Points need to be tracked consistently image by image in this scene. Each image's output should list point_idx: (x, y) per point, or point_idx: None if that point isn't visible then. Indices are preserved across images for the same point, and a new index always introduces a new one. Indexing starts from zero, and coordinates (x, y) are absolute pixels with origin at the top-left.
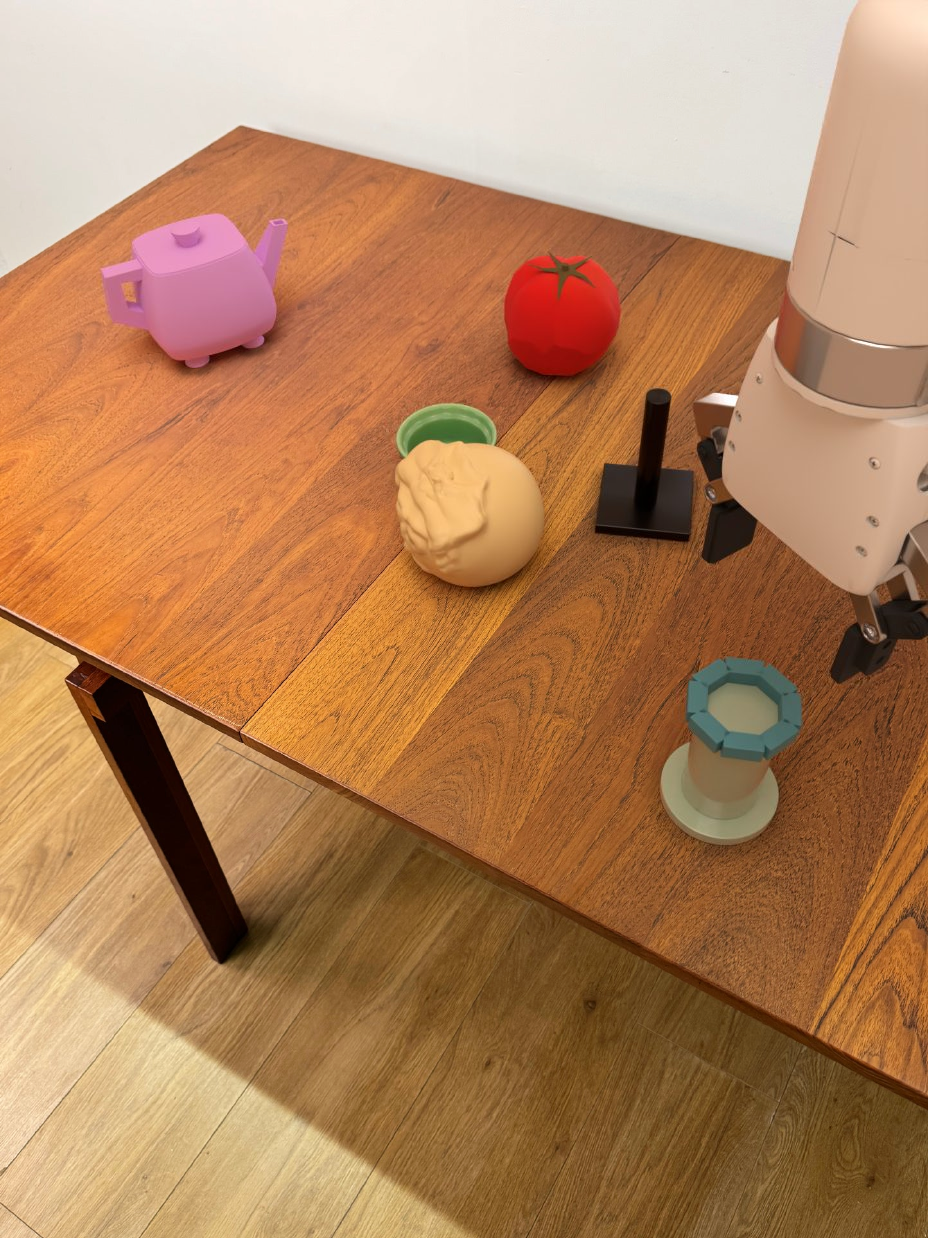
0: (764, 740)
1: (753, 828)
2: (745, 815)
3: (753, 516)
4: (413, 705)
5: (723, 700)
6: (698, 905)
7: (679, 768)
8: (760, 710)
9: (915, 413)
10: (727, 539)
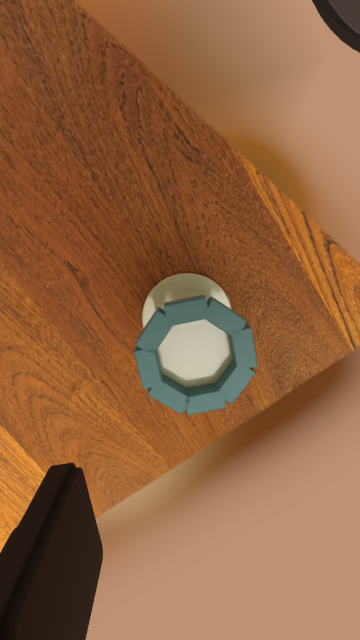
0: (244, 366)
1: None
2: None
3: (51, 566)
4: (29, 477)
5: (173, 359)
6: None
7: None
8: (200, 333)
9: None
10: (81, 584)
